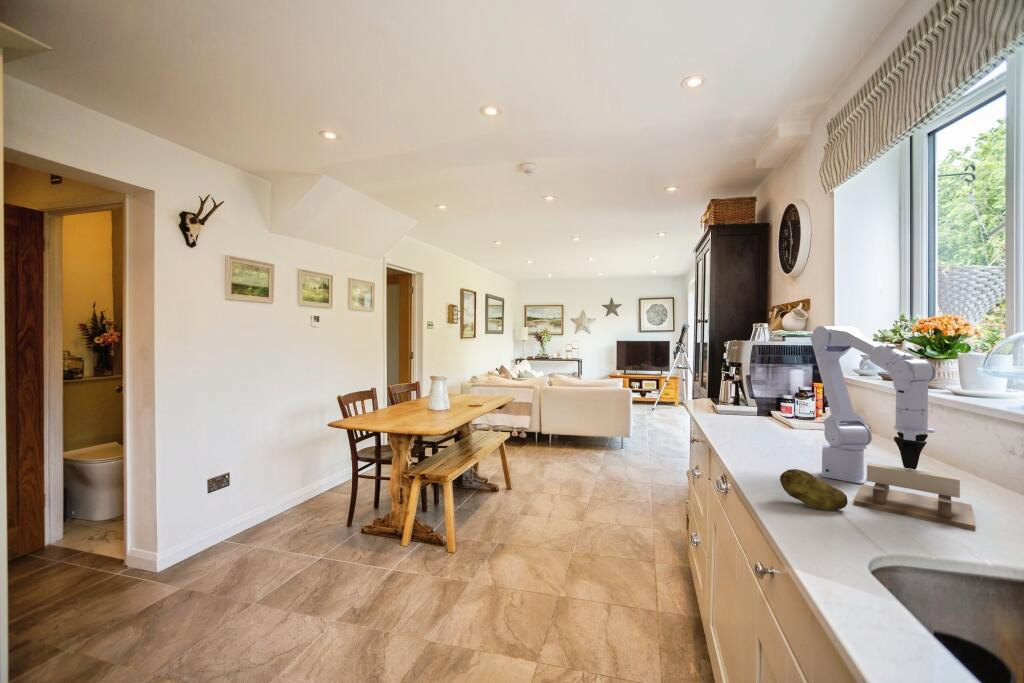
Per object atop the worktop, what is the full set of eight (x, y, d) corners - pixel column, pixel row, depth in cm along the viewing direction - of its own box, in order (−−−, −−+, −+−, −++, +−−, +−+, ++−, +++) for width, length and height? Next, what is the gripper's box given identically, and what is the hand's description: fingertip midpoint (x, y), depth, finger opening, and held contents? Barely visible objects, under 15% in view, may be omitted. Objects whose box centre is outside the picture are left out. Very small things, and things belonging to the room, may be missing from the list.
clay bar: (866, 481, 107) (867, 465, 107) (868, 478, 109) (868, 462, 109) (959, 498, 96) (959, 480, 96) (959, 494, 98) (959, 477, 98)
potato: (840, 519, 95) (840, 483, 95) (775, 502, 105) (775, 469, 105) (850, 509, 101) (850, 475, 101) (787, 494, 111) (788, 463, 111)
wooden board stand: (853, 504, 104) (853, 485, 104) (862, 487, 115) (862, 471, 115) (975, 530, 90) (975, 508, 90) (971, 508, 101) (971, 489, 101)
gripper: (934, 415, 96) (933, 475, 96) (935, 407, 106) (934, 462, 106) (892, 411, 101) (891, 468, 101) (896, 404, 111) (896, 456, 111)
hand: (910, 465), depth 104 cm, fingers open, 7 cm apart
